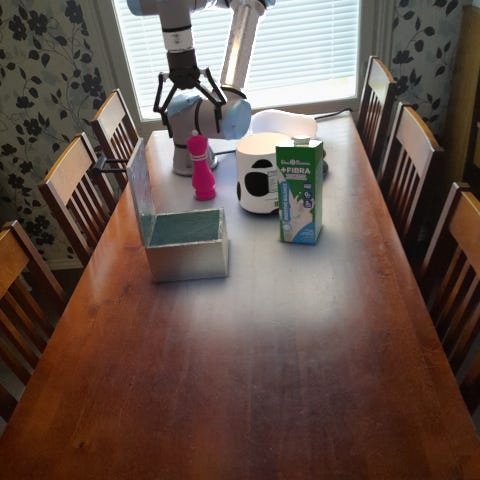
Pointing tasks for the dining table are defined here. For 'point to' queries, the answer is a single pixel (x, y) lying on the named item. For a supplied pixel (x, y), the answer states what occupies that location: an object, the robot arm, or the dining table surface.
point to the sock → (283, 124)
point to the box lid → (135, 186)
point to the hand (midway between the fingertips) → (194, 134)
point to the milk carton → (300, 189)
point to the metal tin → (188, 245)
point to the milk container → (258, 172)
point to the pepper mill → (200, 167)
